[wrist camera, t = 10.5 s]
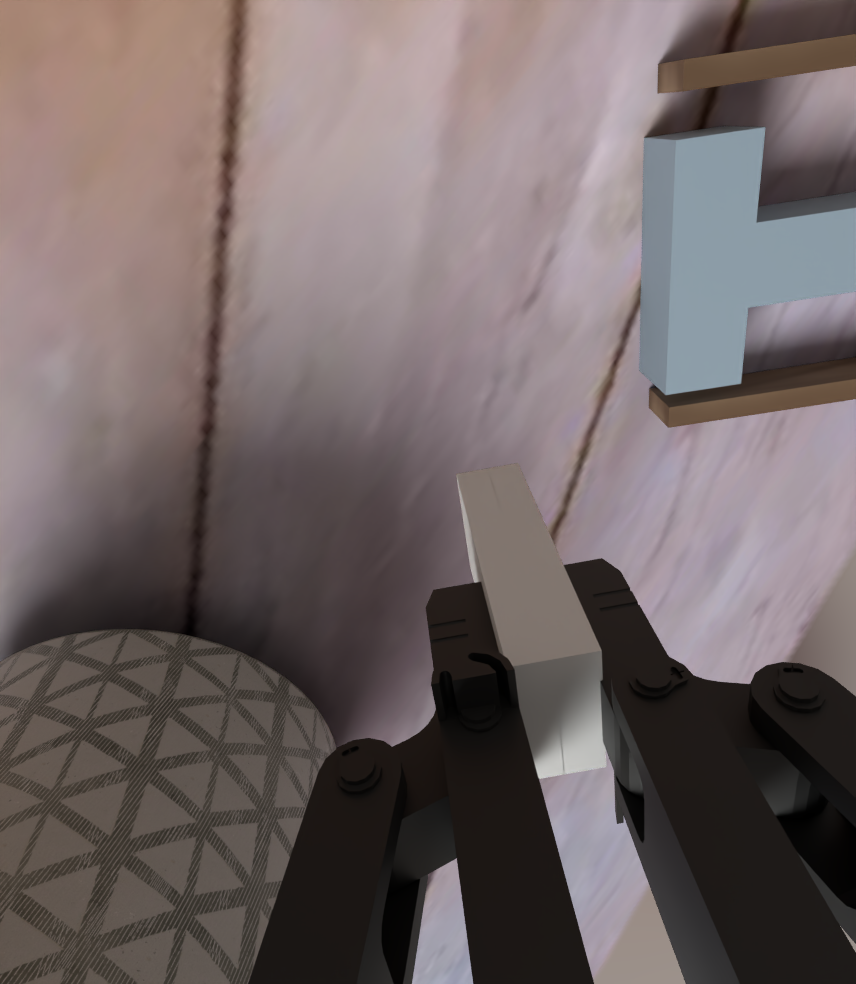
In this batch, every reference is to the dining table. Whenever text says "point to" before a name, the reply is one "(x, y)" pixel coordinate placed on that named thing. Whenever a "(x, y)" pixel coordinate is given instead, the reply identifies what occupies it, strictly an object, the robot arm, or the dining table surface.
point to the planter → (146, 807)
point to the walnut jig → (778, 384)
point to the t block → (726, 253)
